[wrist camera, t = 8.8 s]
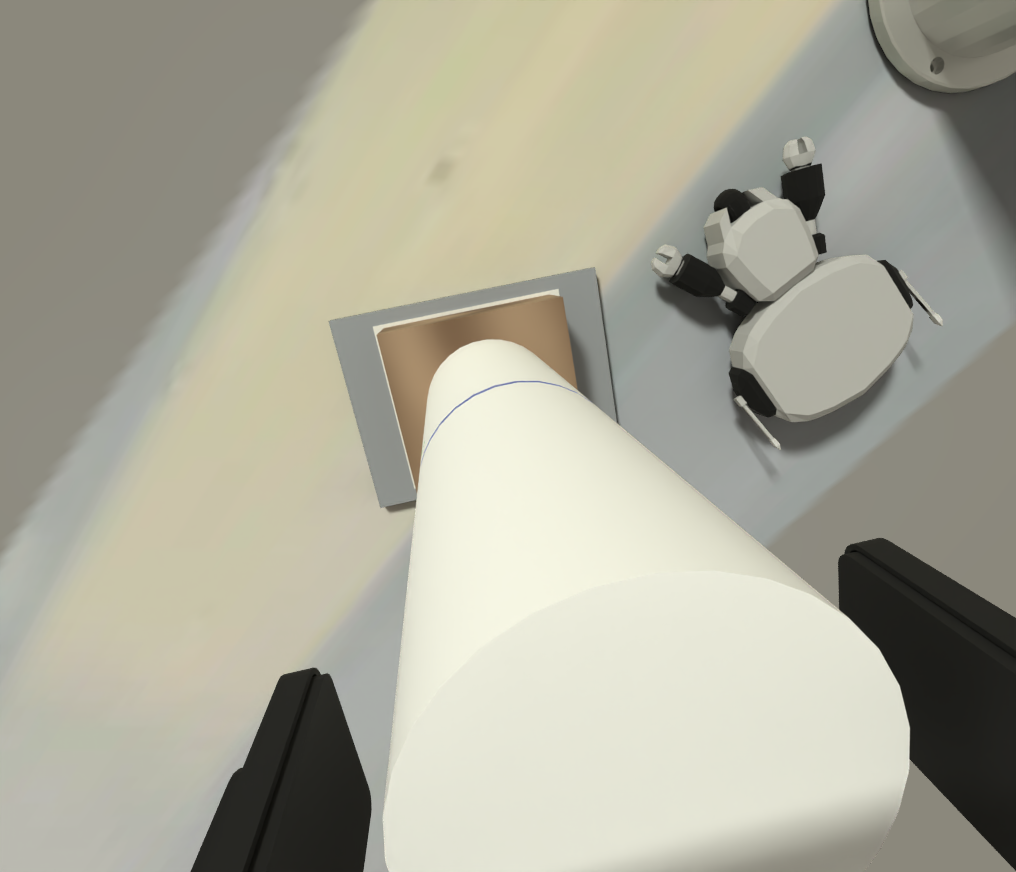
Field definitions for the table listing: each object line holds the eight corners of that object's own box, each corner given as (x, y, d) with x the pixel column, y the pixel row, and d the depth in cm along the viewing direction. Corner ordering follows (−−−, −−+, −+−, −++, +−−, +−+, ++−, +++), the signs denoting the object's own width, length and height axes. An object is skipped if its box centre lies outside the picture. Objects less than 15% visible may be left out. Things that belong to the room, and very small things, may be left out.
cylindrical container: (579, 376, 32) (1012, 692, 8) (518, 486, 33) (724, 1045, 9) (464, 315, 30) (558, 471, 6) (404, 432, 31) (289, 939, 7)
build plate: (591, 267, 35) (595, 267, 34) (617, 450, 38) (621, 455, 37) (331, 320, 34) (328, 321, 33) (381, 503, 37) (380, 508, 37)
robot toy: (624, 266, 36) (752, 443, 39) (645, 259, 32) (788, 460, 35) (783, 135, 35) (902, 328, 38) (827, 110, 31) (958, 330, 34)
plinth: (549, 294, 34) (562, 296, 30) (575, 450, 37) (590, 470, 33) (383, 328, 34) (376, 334, 30) (422, 484, 36) (420, 508, 33)
